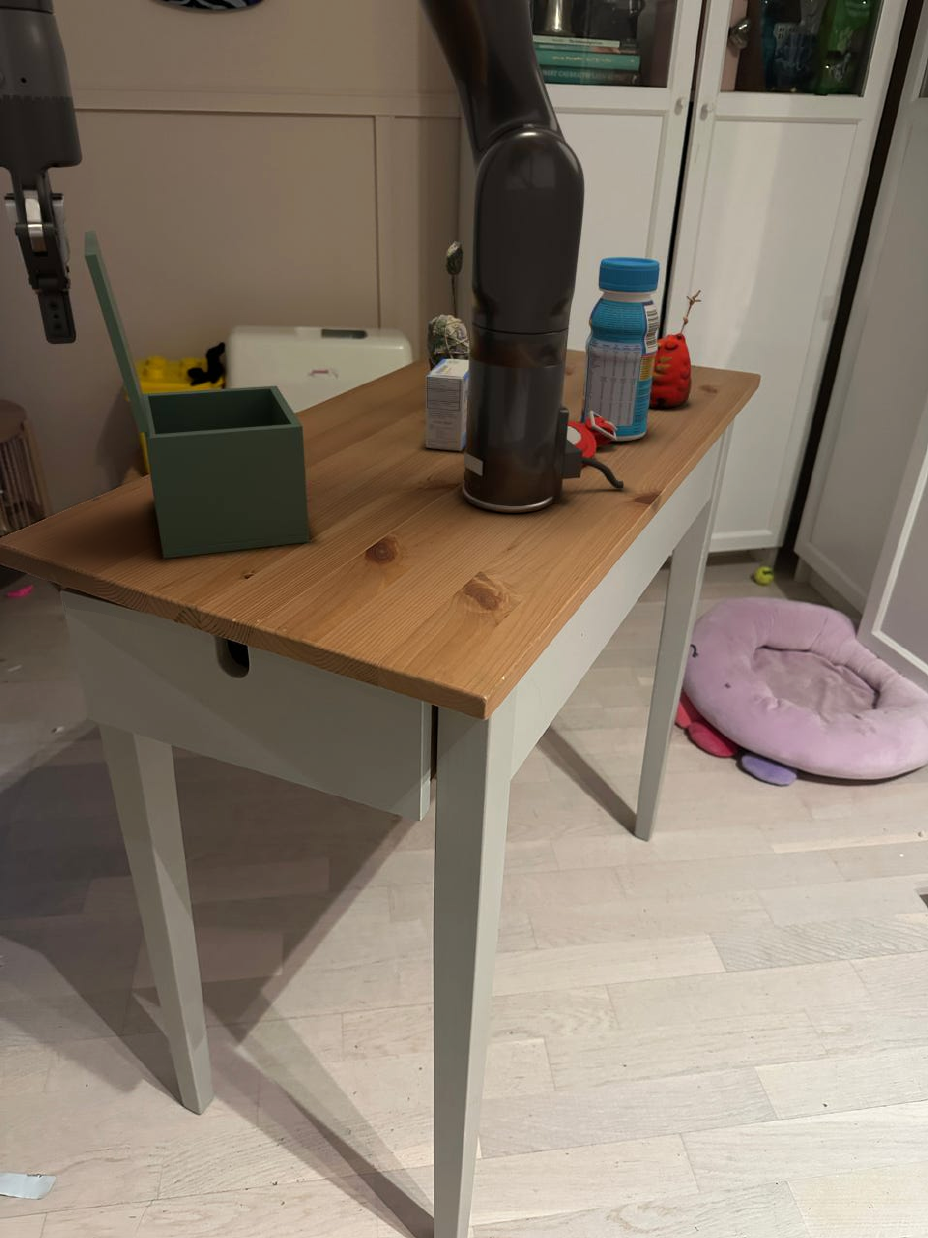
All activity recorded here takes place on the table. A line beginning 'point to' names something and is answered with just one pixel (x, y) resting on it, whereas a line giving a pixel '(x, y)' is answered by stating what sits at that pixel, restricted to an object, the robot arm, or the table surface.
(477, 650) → the table surface
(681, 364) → the red clay folk toy
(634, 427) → the beverage bottle
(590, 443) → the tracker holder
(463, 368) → the medicine box
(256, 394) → the chest
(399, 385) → the table surface
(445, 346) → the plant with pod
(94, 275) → the lid
